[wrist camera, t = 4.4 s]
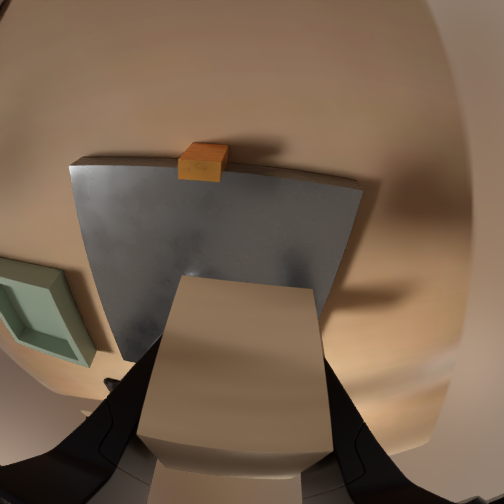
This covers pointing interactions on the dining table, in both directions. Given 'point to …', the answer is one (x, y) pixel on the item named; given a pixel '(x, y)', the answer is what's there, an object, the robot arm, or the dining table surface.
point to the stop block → (238, 382)
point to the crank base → (204, 231)
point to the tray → (43, 312)
